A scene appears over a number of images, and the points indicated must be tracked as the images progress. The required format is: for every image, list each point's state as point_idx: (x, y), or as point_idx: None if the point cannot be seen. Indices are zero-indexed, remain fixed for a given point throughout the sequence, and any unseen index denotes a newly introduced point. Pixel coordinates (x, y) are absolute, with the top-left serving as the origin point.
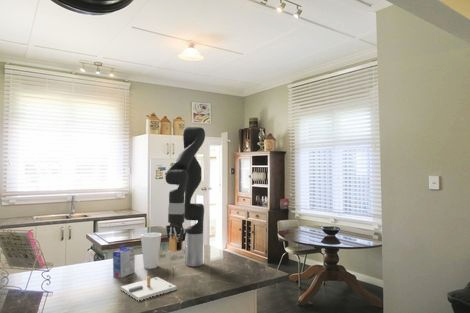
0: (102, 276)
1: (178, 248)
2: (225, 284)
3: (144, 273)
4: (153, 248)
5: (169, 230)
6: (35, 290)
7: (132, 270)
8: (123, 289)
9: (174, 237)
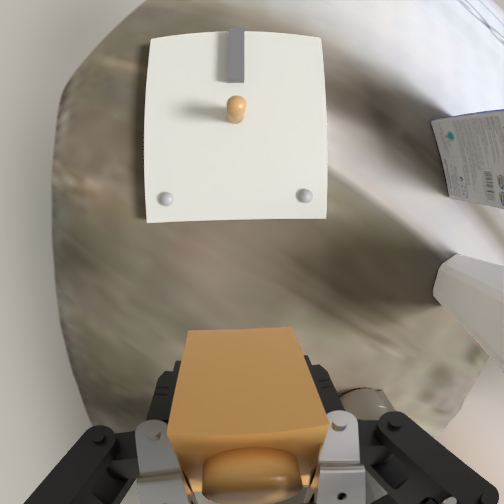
0: (468, 99)
1: (167, 378)
2: (107, 378)
3: (421, 221)
4: (489, 311)
5: (426, 494)
6: None
7: (454, 187)
8: (291, 36)
9: (224, 468)
